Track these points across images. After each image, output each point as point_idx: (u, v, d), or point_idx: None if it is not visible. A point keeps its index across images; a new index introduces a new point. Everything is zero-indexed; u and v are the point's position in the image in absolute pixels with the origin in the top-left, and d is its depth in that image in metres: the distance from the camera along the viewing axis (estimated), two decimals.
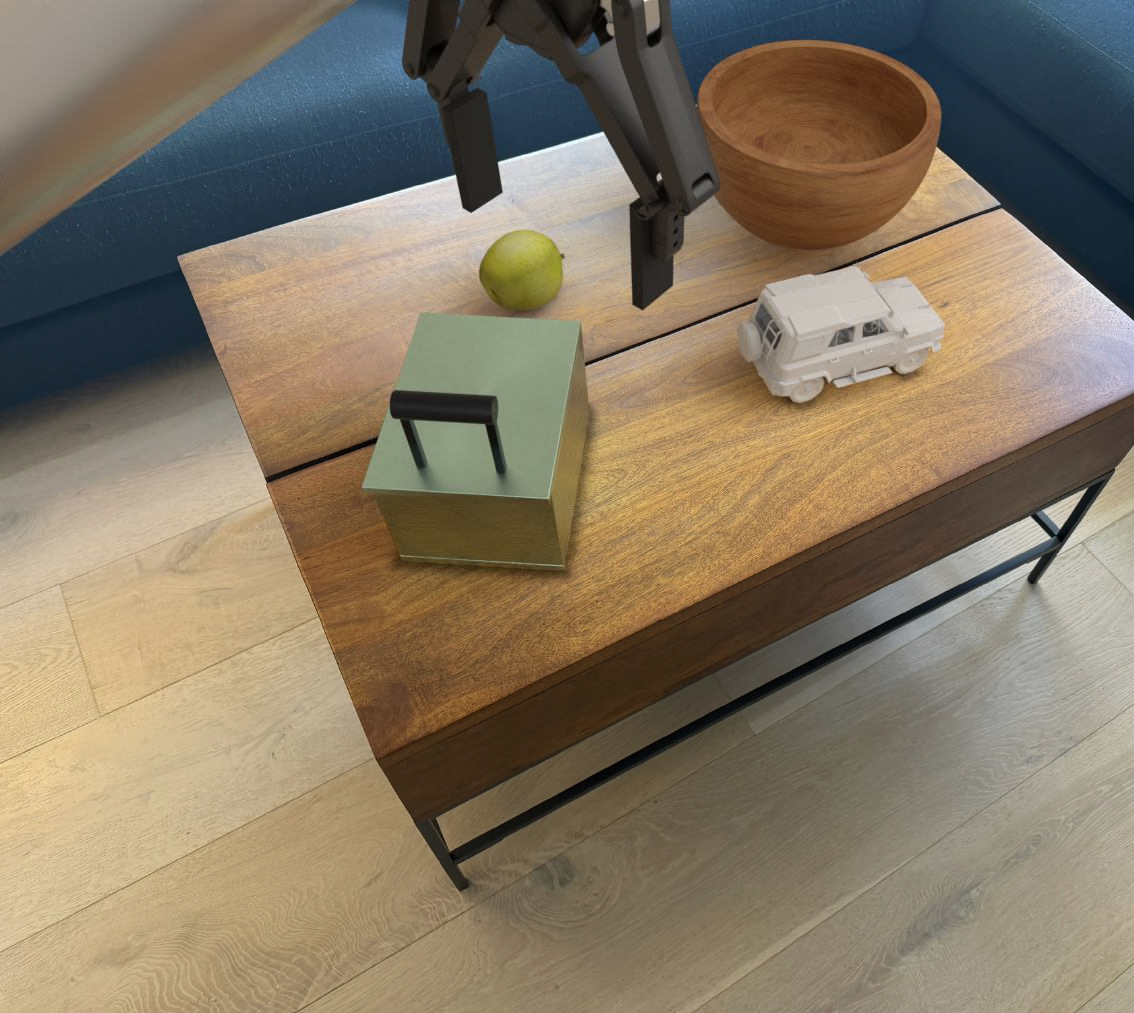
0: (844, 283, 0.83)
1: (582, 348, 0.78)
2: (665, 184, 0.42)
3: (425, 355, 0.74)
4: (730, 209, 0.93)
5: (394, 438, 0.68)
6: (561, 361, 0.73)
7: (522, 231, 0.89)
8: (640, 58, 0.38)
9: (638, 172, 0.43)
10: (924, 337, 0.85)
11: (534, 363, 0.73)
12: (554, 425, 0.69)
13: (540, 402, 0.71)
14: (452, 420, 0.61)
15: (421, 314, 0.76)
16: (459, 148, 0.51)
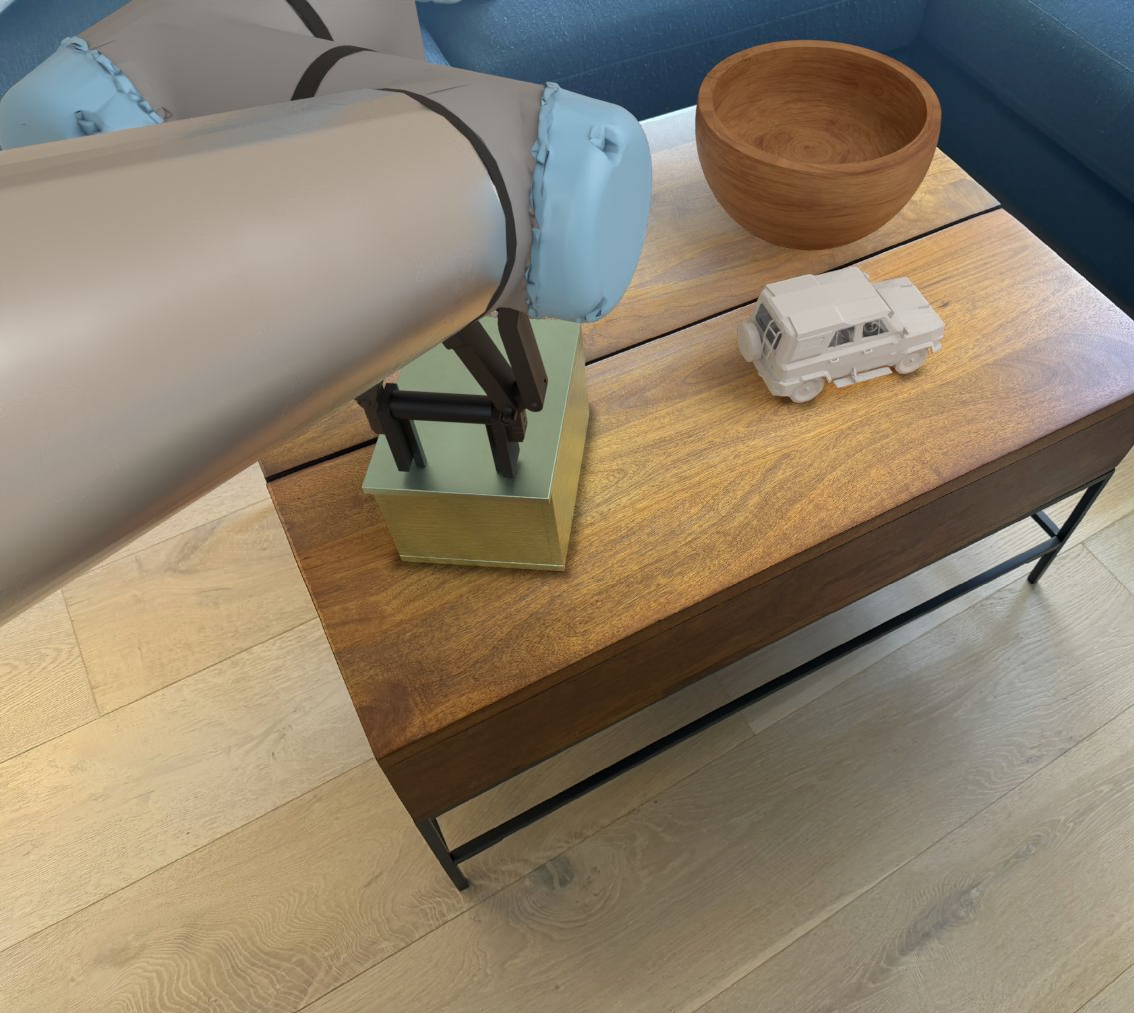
0: (844, 283, 0.83)
1: (582, 348, 0.78)
2: (522, 395, 0.58)
3: (425, 355, 0.74)
4: (730, 209, 0.93)
5: None
6: (561, 361, 0.73)
7: None
8: (518, 330, 0.54)
9: (500, 395, 0.58)
10: (924, 337, 0.85)
11: None
12: (554, 425, 0.69)
13: None
14: (452, 420, 0.61)
15: None
16: (394, 432, 0.62)
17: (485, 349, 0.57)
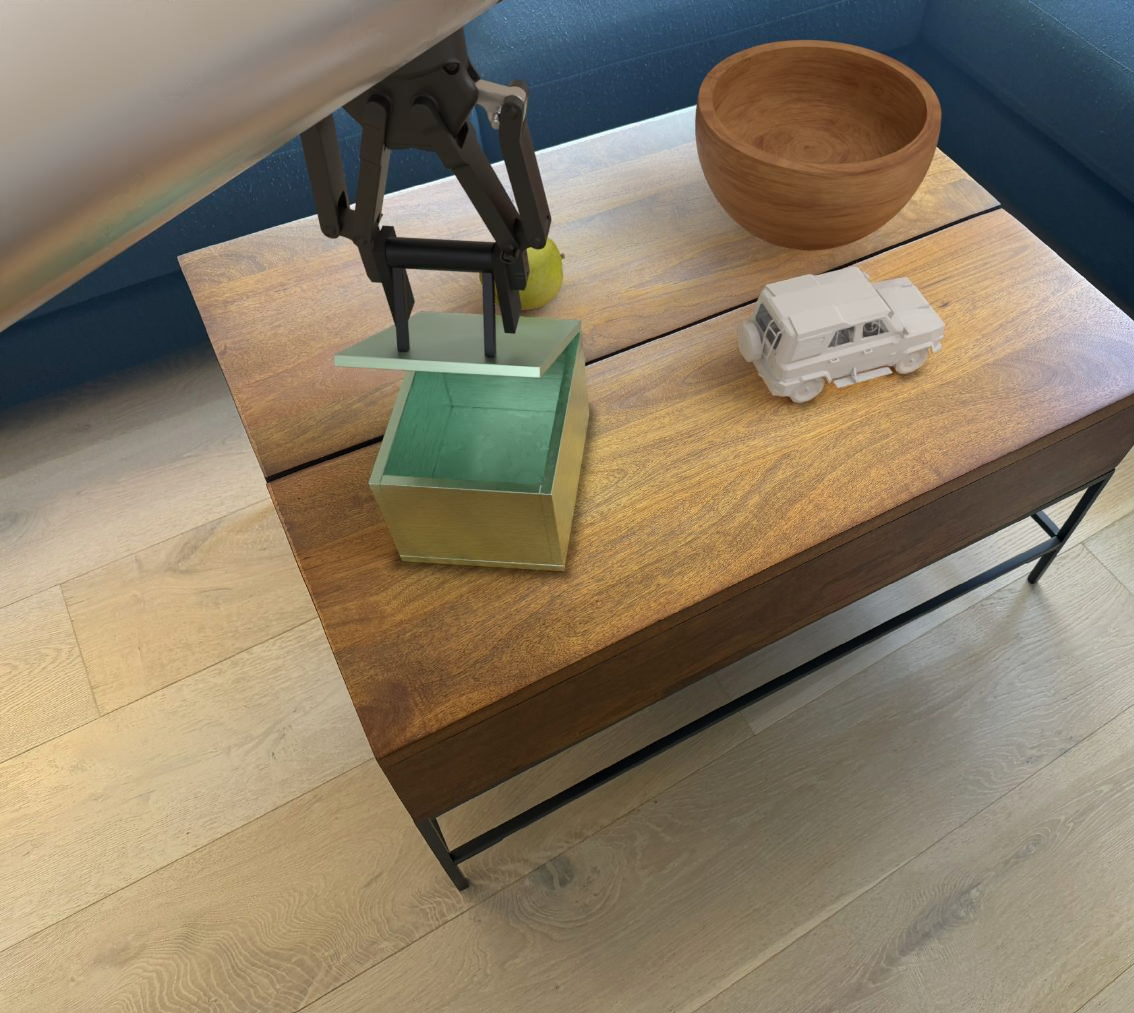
0: (844, 283, 0.83)
1: (582, 348, 0.78)
2: (524, 228, 0.56)
3: (421, 321, 0.72)
4: (730, 209, 0.93)
5: (377, 342, 0.64)
6: (560, 329, 0.72)
7: None
8: (520, 145, 0.51)
9: (501, 229, 0.56)
10: (924, 337, 0.85)
11: (532, 328, 0.72)
12: (550, 345, 0.65)
13: (536, 338, 0.68)
14: (449, 260, 0.58)
15: (421, 311, 0.76)
16: (391, 278, 0.60)
17: (486, 175, 0.54)
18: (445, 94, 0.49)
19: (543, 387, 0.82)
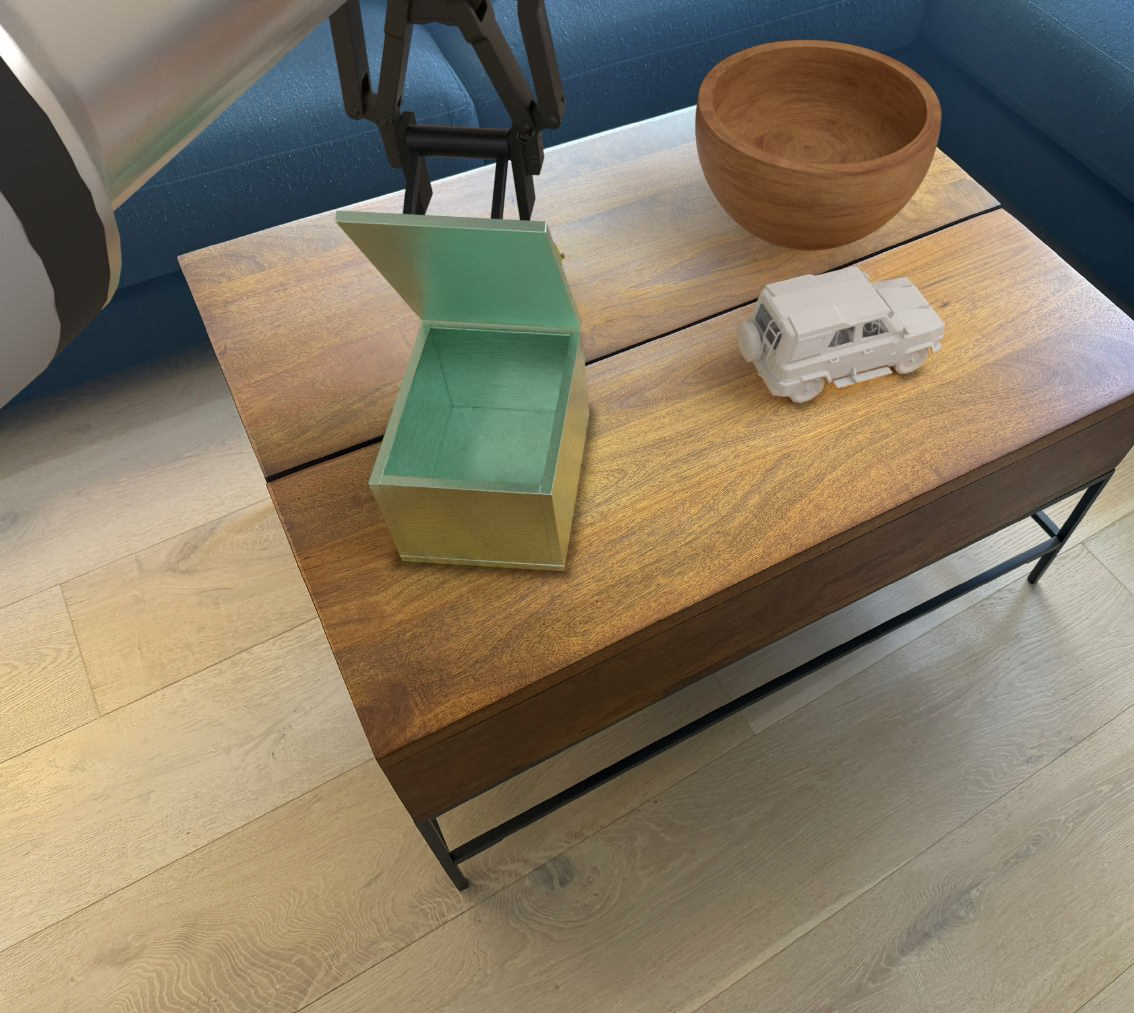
0: (844, 283, 0.83)
1: (582, 348, 0.78)
2: (540, 107, 0.58)
3: None
4: (730, 209, 0.93)
5: None
6: None
7: None
8: (537, 17, 0.54)
9: (518, 107, 0.59)
10: (924, 337, 0.85)
11: None
12: None
13: None
14: (466, 137, 0.60)
15: None
16: None
17: (504, 53, 0.57)
18: None
19: (543, 387, 0.82)
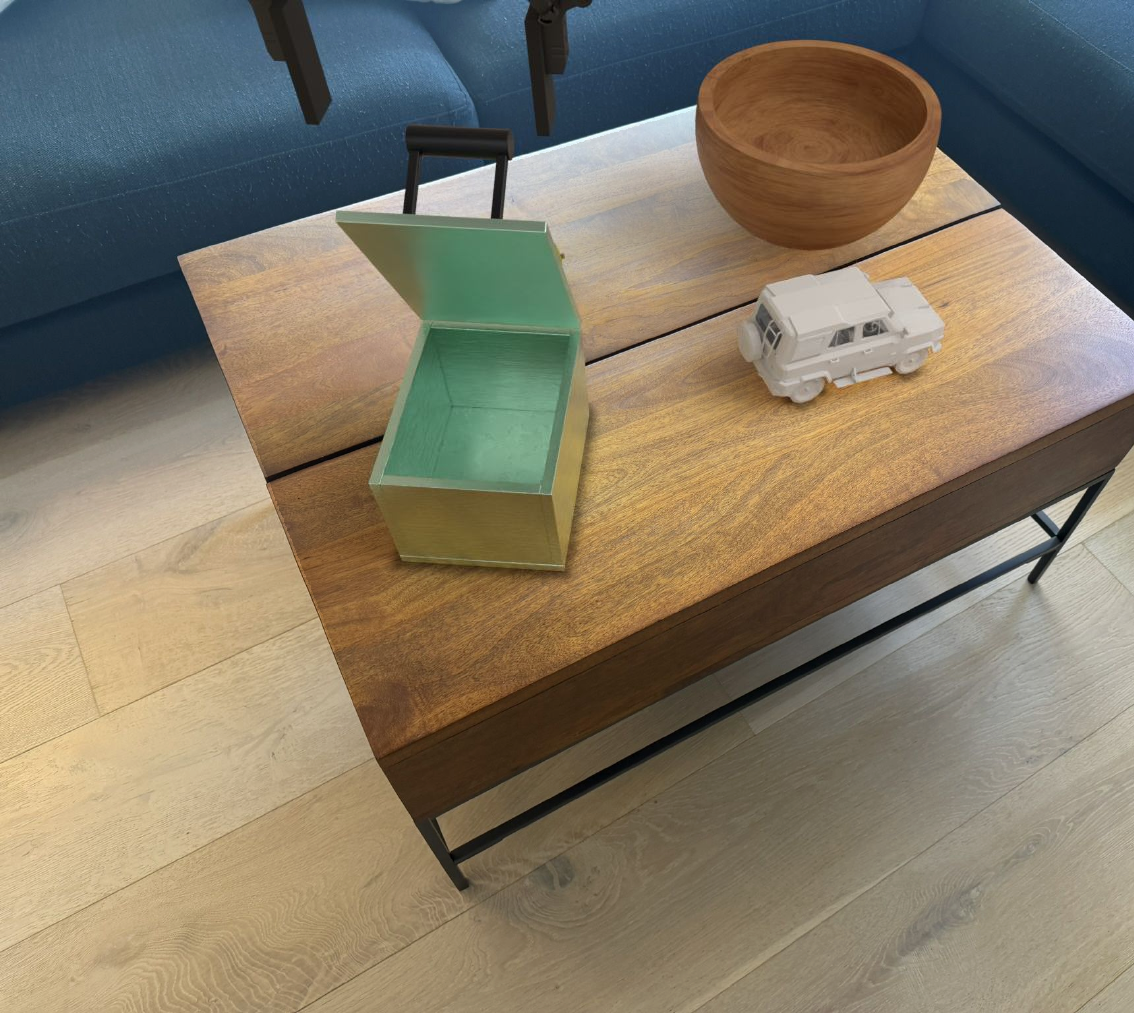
0: (844, 283, 0.83)
1: (582, 348, 0.78)
2: None
3: None
4: (730, 209, 0.93)
5: None
6: None
7: None
8: None
9: None
10: (924, 337, 0.85)
11: None
12: None
13: None
14: (466, 137, 0.60)
15: None
16: (295, 51, 0.49)
17: None
18: None
19: (543, 387, 0.82)
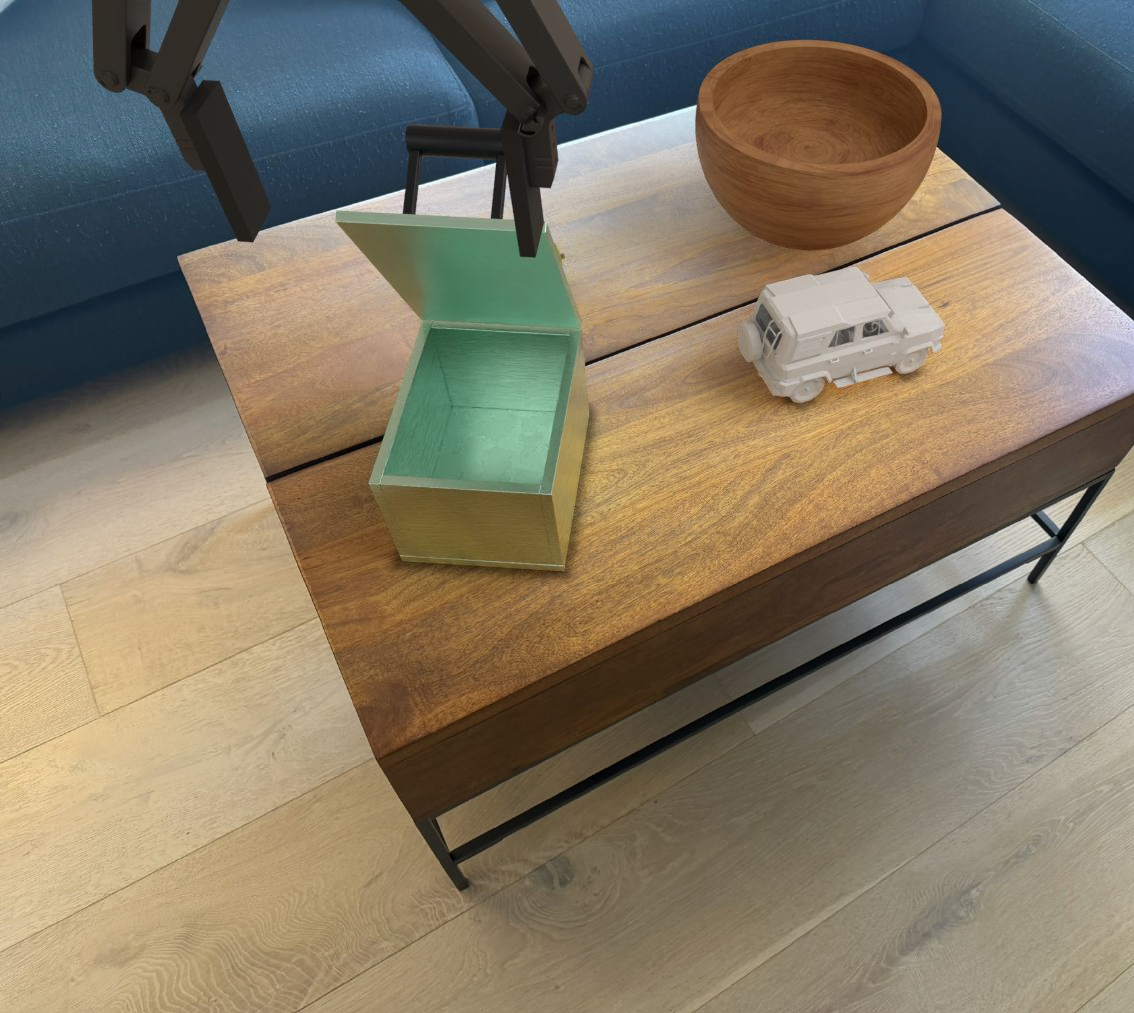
0: (844, 283, 0.83)
1: (582, 348, 0.78)
2: (548, 83, 0.36)
3: None
4: (730, 209, 0.93)
5: None
6: None
7: None
8: None
9: (506, 83, 0.36)
10: (924, 337, 0.85)
11: None
12: None
13: None
14: (466, 137, 0.60)
15: None
16: (217, 161, 0.40)
17: (459, 0, 0.34)
18: None
19: (543, 387, 0.82)
